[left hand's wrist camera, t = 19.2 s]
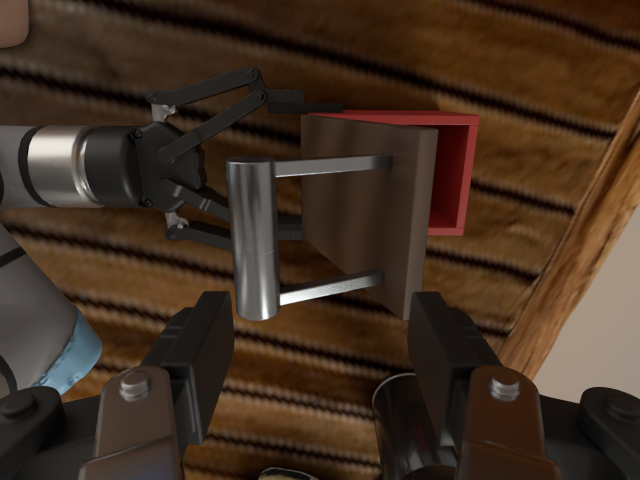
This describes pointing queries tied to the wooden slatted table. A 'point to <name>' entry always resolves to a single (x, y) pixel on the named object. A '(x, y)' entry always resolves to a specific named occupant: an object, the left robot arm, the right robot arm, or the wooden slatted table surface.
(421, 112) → the chest
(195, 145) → the right robot arm
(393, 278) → the lid
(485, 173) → the wooden slatted table surface
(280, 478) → the fossil
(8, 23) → the anatomical model
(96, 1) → the wooden slatted table surface
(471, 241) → the wooden slatted table surface
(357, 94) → the wooden slatted table surface
